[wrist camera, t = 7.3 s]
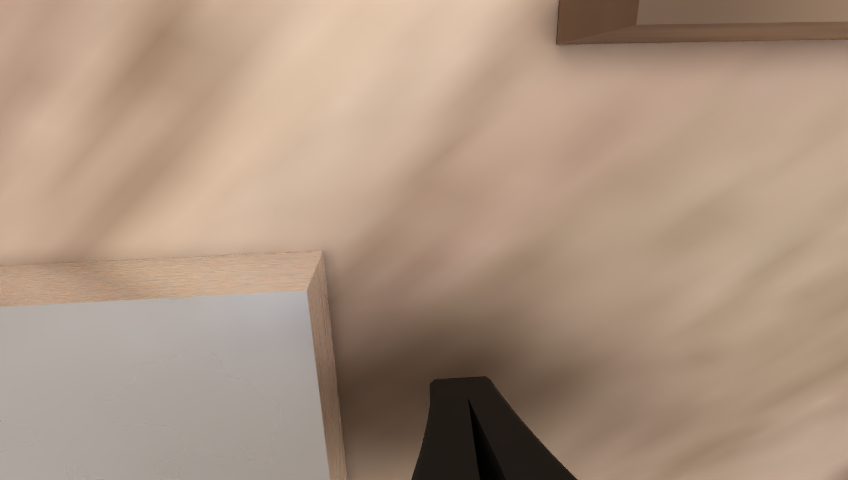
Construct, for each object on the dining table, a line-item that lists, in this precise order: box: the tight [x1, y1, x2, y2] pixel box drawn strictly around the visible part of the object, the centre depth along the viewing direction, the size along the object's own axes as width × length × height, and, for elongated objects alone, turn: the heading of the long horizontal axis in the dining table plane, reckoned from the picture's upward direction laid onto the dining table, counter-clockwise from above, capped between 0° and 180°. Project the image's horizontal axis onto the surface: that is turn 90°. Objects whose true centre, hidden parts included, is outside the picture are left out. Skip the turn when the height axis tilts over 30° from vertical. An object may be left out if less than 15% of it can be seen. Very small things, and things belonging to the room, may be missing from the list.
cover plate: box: [0, 251, 347, 480], centre depth 10 cm, size 8×8×2 cm
